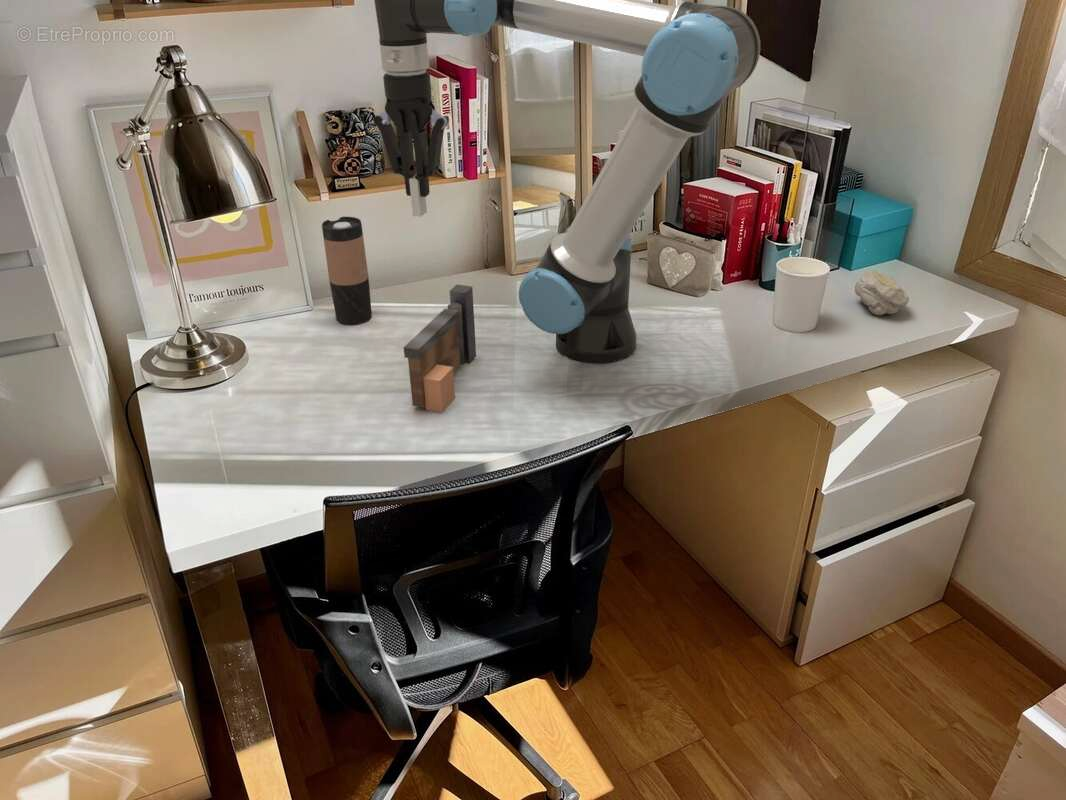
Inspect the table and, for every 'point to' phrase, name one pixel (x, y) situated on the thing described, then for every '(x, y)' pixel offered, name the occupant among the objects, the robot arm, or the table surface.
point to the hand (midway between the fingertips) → (419, 213)
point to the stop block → (439, 388)
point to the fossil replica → (880, 293)
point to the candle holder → (799, 293)
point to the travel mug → (347, 270)
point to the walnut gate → (435, 349)
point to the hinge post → (466, 318)
